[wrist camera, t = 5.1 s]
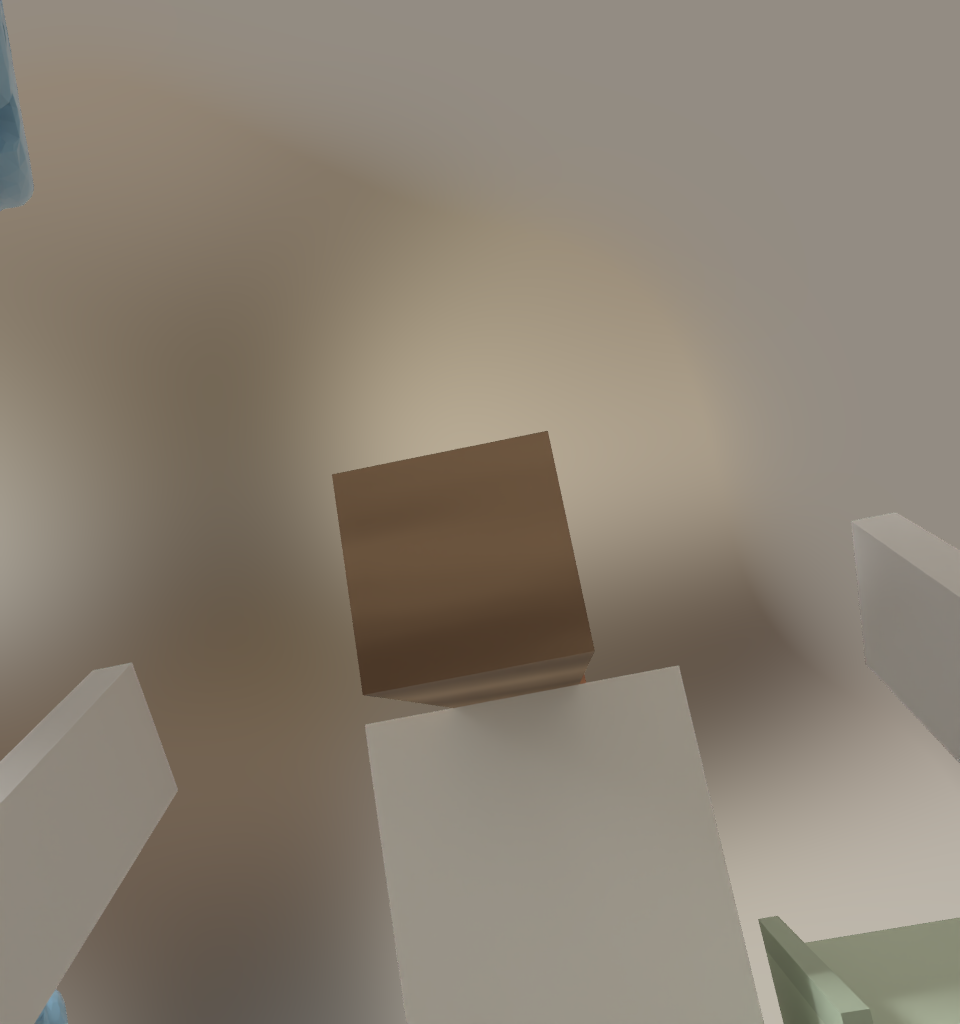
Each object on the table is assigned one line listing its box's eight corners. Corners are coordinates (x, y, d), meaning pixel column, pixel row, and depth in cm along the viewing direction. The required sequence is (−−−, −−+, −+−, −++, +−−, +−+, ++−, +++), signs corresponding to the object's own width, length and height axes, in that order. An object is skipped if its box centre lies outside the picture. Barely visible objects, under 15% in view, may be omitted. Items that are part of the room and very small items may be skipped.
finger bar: (624, 645, 14) (552, 325, 16) (334, 700, 14) (292, 380, 16) (583, 695, 39) (557, 571, 41) (479, 715, 39) (457, 590, 41)
